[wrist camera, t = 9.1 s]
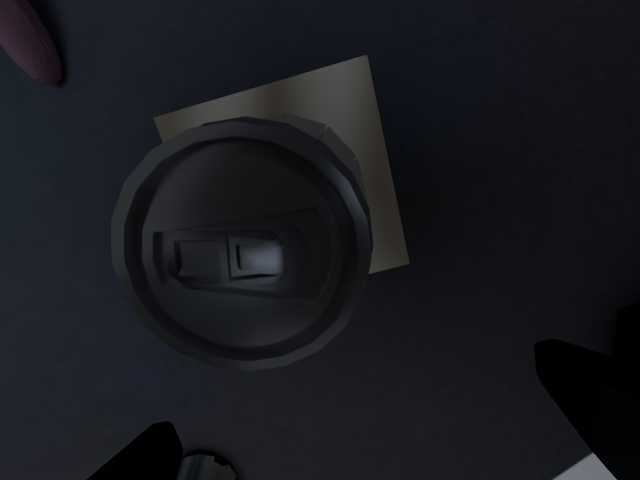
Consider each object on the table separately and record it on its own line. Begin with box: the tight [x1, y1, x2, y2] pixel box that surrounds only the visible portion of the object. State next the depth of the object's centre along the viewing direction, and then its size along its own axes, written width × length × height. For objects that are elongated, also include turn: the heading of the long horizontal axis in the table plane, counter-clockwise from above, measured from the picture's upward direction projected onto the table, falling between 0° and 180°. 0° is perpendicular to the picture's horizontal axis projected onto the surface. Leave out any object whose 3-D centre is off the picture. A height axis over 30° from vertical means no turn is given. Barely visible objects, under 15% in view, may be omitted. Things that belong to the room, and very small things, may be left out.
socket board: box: [154, 55, 410, 274], centre depth 17 cm, size 12×12×3 cm
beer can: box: [111, 116, 374, 371], centre depth 11 cm, size 5×5×12 cm
